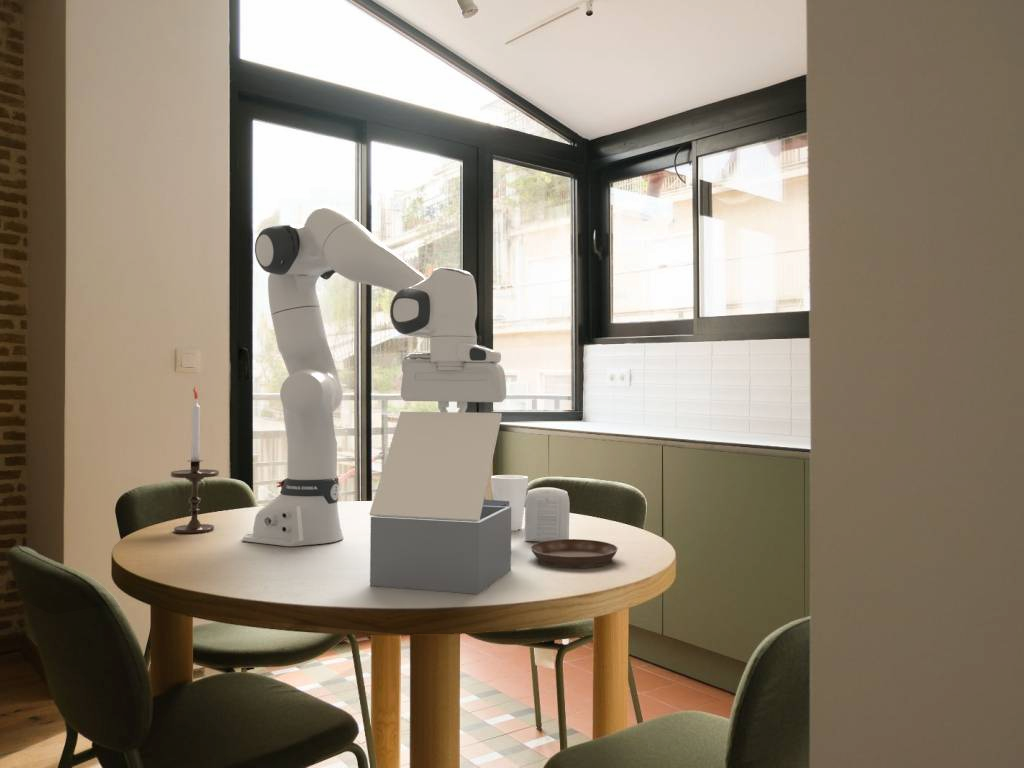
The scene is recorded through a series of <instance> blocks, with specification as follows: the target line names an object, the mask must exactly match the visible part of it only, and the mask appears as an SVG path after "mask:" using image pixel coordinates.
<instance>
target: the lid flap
mask: <svg viewBox="0 0 1024 768" xmlns="http://www.w3.org/2000/svg"><path fill="white" fill-rule="evenodd" d="M502 415H503V414H502V412H466V411H465V412H458V411H457V412H455V411H453V412H452V411H450V412H449V411H448V412H440V411H400V413H399V415H398V418H397V423H396V425H395V428H394V432H393V435H392V439H391V442H390V445H389V448H388V452H387V455H386V459H385V462H384V465H383V468H382V472H381V475H380V478H379V481H378V485H377V487H376V488H377V489H376V492H375V494H374V498H373V501H372V505H371V508H370V511H369V516H370V517H372V516H386V517H405V518H424V519H443V520H463V521H480V516H481V511H482V507H483V502H484V499H485V497H486V493H487V487H488V482H489V478H490V473H491V469H492V463H493V458H494V454H495V450H496V449H495V448H496V444H497V440H498V435H499V431H500V425H501V421H502Z"/></svg>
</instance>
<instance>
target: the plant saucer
mask: <svg viewBox="0 0 1024 768" xmlns="http://www.w3.org/2000/svg"><path fill="white" fill-rule="evenodd" d="M618 549H619V548H618V546H616V545H615V544H612V543H609V542H605V541H601V540H593V539H583V538H582V539H579V538H578V539H577V538H575V539H574V538H569V539H561V540H550V541H543V542H535V543H534V544H532V545H531V546H530V550H531V552H532V553H533V555H534V556H535V557H536V559H537V560H538V561H539V562H540V563H542V564H544V565H547V566H551V567H558V568H566V567H567V568H569V569H583V568H584V569H587V568H597V567H600V566H605V565H607V564H608V563H609V562H610V561H612V559H613V558H614V557H615V555H616V553H617V551H618Z"/></svg>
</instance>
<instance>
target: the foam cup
mask: <svg viewBox="0 0 1024 768" xmlns="http://www.w3.org/2000/svg"><path fill="white" fill-rule="evenodd" d="M490 487H491V491H492V492H491V493H492V500H498V501H509V507H511V530H515V531H519V530H518V529H520V530H522V527H523V520H524V515H525V513H524V512H525V499H526V496H527V492H528V490H527V489H528V487H529V476H526V475H520V474H499V475H498V474H497V475H491V477H490Z"/></svg>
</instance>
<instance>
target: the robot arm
mask: <svg viewBox="0 0 1024 768" xmlns="http://www.w3.org/2000/svg"><path fill="white" fill-rule="evenodd" d="M254 244H255V245H254V253H255V254H254V255H255V258H256V261H257V263H258V265H259V267H260V268H261V269H262V270H263V271H265V273H269V275H268V278H267V292H268V304H269V309H270V315H271V320H272V326H273V329H274V333H275V334H274V335H275V339H276V344H277V348H278V351H279V353H280V354H281V357H282V360H283V363H284V364H285V368H286V370H287V373H288V376H287V378H285V379H284V381H283V383H282V384H281V387H280V392H279V396H280V401H281V404H282V411H283V421H284V428H285V433H286V442H287V464H286V465H287V466H286V467H287V472H286V473H287V476H286V478H284V479H283V480H281V481H277V482H276V484H277V485H276V488H281V490H280V491H279V494H278V495H277V496H276V497H275V498H274V499H272V500H271V501H269V502H268V503H267V504H266V505H265V506H264V507H262V508H261V509H259V510H258V511H257V513H256V514H255V518H254V522H253V528H252V531H250V532H248V533H245V534H244V535H243V536H242V541H243V542H250V543H259V544H266V545H275V546H282V547H300V546H310V545H319V544H320V545H323V544H329V543H334V542H338V541H341V540H343V539H344V535H343V532H342V529H341V528H342V527H341V523H340V517H339V516H340V515H339V509H338V508H339V507H338V506H339V505H338V502H339V492H340V491H339V484H340V483H339V482H340V481H339V477H337V473H338V472H337V471H338V467H337V466H338V457H337V456H338V442H337V438H336V432H335V431H336V430H335V423H334V416H333V415H334V412H335V411H336V410H337V409H338V408H339V406H340V404H341V403H342V401H343V400H342V399H343V388H342V385H341V381H340V377H339V374H338V371H337V367H336V364H335V361H334V358H333V354H332V351H331V349H330V346H329V342H328V340H327V335H326V330H325V325H324V321H323V316H322V311H321V310H322V309H321V307H320V302H319V298H318V294H317V289H316V288H317V287H316V285H317V281H318V279H319V278H320V277H321V279H323V280H325V281H327V280H329V279H330V278H332V276H333V275H334V274H339V276H342V277H343V278H345V279H347V280H349V281H352V282H356V283H360V284H364V285H368V286H374V287H378V288H382V289H386V290H389V291H391V292H392V291H393V292H394V293H396V294H395V295H394V297H393V299H392V300H391V303H390V308H389V318H390V321H391V324H392V326H393V327H394V329H395V330H396V331H397V332H398V333H399V334H402V335H404V336H407V337H408V336H409V337H414V338H415V337H416V338H421V339H422V338H423V339H430V340H429V352H428V353H427V352H424V353H423V352H422V353H416V352H412V353H409V354H408V355H406V356H404V357H403V359H402V362H401V372H402V376H401V377H402V378H401V385H400V386H401V387H400V397H401V399H402V400H403V401H404V402H438V403H437V407H438V410H439V412H449V411H448V409H447V408H450V407H449V406H450V404H449V403H452V402H456V408H457V409H458V411H457V412H466V411H467V409H468V403H502V402H504V401H505V399H506V397H507V382H506V375H505V374H506V373H505V370H504V368H503V367H502V365H501V364H499V363H500V362H501V361H502V355H501V353H500V351H497V350H494V349H491V348H488V347H487V346H484V345H478V341H477V340H478V339H477V338H478V335H477V331H476V326H475V325H476V320H477V316H478V295H477V285H476V281H475V277H474V275H473V274H471V272H469V271H467V270H464V269H463V270H462V269H459V268H453V267H445V266H444V267H443V266H442V267H441V266H440V267H436V268H434V269H433V270H432V272H431V274H429V276H428V277H427V276H426V275H425V274H423V273H422V272H420V271H419V270H418V269H416V267H413V266H412V265H411V264H409V263H408V262H407V261H405V260H404V259H403V258H402V257H400V256H399V255H398V254H396V253H395V252H394V251H392V249H390V248H389V247H388V246H386V245H385V244H384V243H383V242H382V241H380V240H379V239H378V238H377V237H376V236H375V235H374V234H372V233H371V232H370V231H369V230H368V229H367V228H366V227H364V226H363V225H362V224H361V223H359V222H358V221H357V220H356V219H354V218H353V217H352V216H349V214H347V213H345V212H343V211H341V210H340V209H337V208H336V207H332V206H322V207H318V208H317V209H315V210H313V211H312V212H311V213H310V214H309V215H308V217H307V218H306V221H305V223H304V224H294V225H293V224H292V225H290V224H277V225H273V226H268V227H265V228H264V229H262V230H261V231H260V232H259V234H258V235H257V238H256V240H255V242H254Z"/></svg>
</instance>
